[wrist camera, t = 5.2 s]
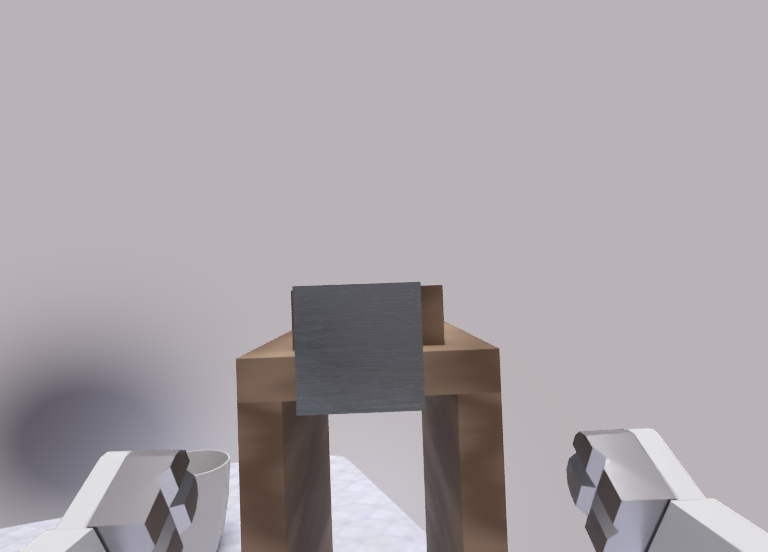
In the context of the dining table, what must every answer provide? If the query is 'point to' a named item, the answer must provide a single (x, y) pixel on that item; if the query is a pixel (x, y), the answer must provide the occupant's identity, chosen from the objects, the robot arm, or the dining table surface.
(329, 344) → the bar
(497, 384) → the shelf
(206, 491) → the cup
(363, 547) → the dining table surface
